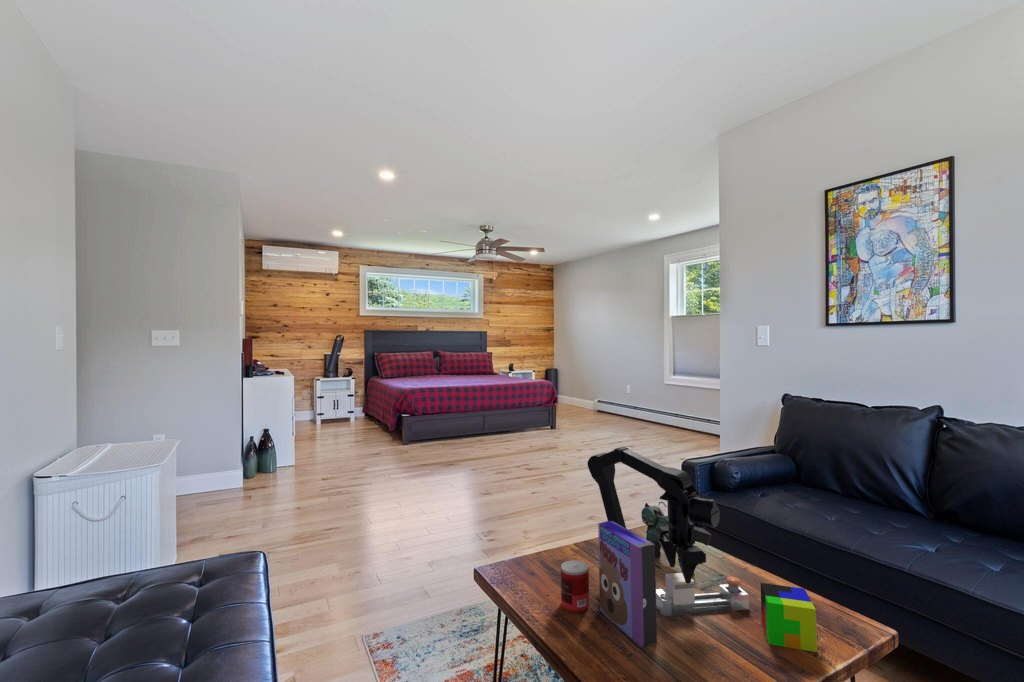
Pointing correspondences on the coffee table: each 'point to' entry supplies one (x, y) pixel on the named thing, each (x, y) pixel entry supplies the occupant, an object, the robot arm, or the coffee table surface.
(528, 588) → the coffee table surface
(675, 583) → the carriage
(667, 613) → the rail
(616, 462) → the robot arm
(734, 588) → the button
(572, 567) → the canned food
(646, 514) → the ceramic cat
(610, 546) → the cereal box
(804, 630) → the puzzle toy
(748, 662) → the coffee table surface
